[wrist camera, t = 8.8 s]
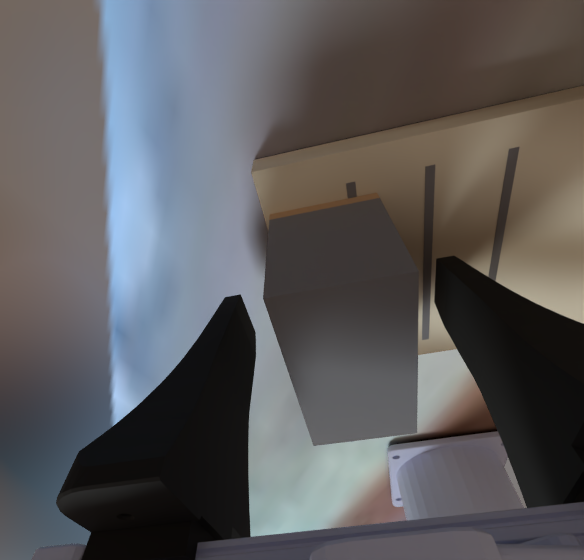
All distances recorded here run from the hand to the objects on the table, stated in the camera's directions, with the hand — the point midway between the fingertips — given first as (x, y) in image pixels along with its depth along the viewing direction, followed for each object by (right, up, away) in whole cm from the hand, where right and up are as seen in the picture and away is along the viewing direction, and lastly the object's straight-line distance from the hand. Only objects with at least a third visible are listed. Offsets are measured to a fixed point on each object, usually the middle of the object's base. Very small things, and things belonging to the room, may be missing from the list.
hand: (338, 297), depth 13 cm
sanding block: (0, 0, +1) cm, 1 cm away
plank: (+4, +2, +1) cm, 5 cm away
